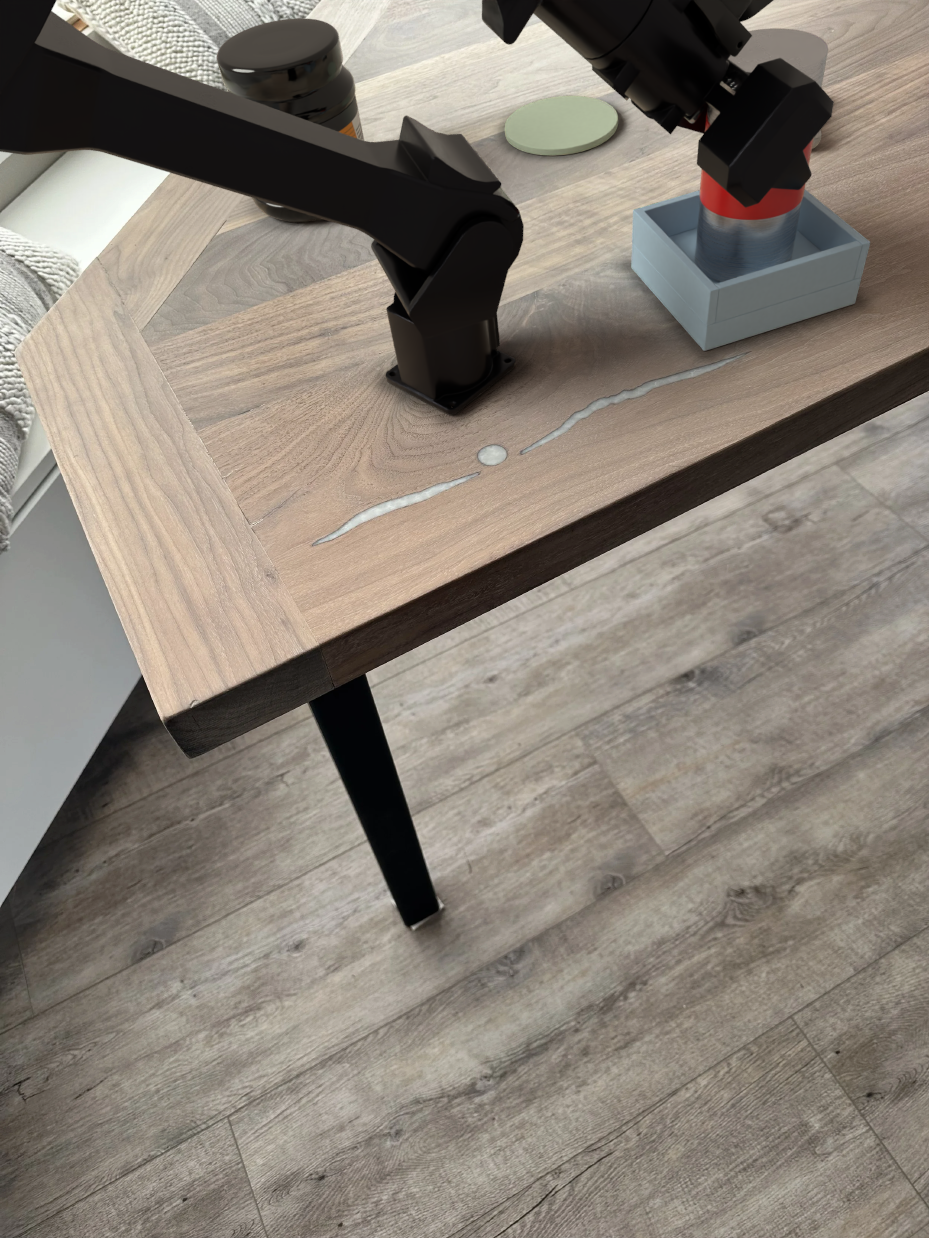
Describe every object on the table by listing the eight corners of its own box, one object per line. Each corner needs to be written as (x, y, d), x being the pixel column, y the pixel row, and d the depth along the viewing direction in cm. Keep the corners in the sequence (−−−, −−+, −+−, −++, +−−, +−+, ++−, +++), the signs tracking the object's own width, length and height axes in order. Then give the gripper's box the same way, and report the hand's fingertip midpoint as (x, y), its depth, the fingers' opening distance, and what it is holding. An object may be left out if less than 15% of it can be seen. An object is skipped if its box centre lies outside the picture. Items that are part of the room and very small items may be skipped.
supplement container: (399, 181, 79) (372, 26, 70) (314, 240, 75) (273, 83, 65) (314, 155, 84) (279, 6, 75) (229, 208, 80) (180, 58, 70)
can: (757, 296, 60) (789, 82, 50) (674, 267, 63) (689, 60, 53) (811, 251, 63) (851, 39, 53) (728, 225, 66) (752, 20, 56)
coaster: (569, 166, 78) (568, 159, 77) (482, 138, 82) (481, 131, 82) (640, 117, 81) (641, 110, 81) (553, 93, 86) (553, 86, 86)
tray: (703, 352, 61) (710, 291, 57) (630, 268, 67) (632, 209, 64) (855, 304, 62) (871, 241, 58) (768, 226, 69) (778, 166, 65)
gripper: (836, -112, 39) (981, 96, 49) (642, -195, 50) (792, -13, 60) (656, 130, 44) (819, 272, 54) (517, 5, 55) (674, 141, 65)
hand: (775, 158), depth 58 cm, fingers closed on can, 6 cm apart
